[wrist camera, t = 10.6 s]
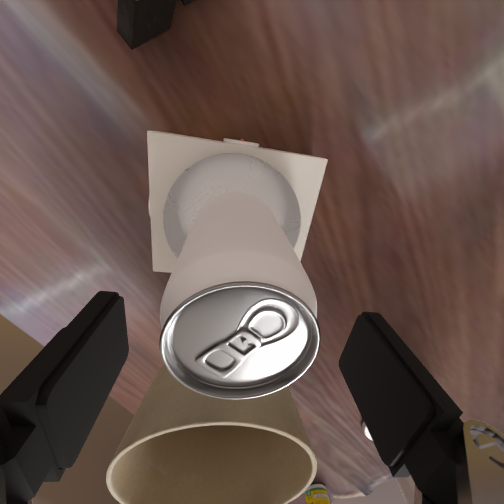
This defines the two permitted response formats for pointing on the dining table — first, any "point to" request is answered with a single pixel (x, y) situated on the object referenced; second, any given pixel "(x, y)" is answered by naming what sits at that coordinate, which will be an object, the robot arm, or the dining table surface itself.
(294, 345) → the can
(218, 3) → the dining table surface
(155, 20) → the lighter
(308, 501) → the supplement bottle
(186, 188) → the scale pan
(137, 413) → the plant pot
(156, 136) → the scale housing
